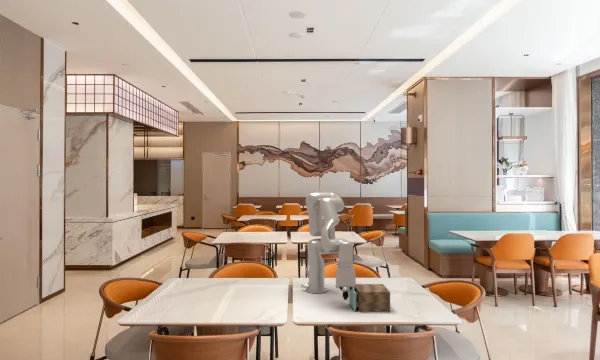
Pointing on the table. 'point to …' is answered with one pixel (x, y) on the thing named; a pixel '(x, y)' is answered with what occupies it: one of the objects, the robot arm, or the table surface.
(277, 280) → the table surface
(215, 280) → the table surface
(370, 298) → the cabinet
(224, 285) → the table surface
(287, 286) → the table surface
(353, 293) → the teal drawer
